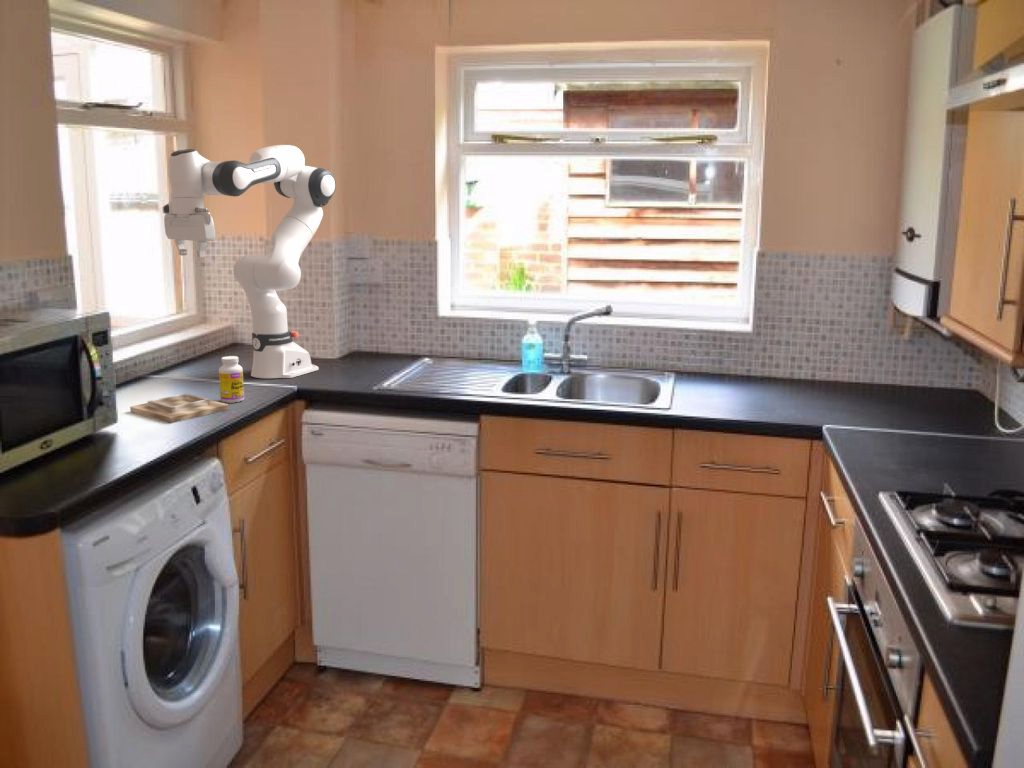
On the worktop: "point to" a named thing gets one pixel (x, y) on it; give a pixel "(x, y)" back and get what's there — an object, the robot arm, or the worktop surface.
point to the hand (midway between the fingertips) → (192, 256)
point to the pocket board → (179, 407)
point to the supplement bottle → (231, 380)
